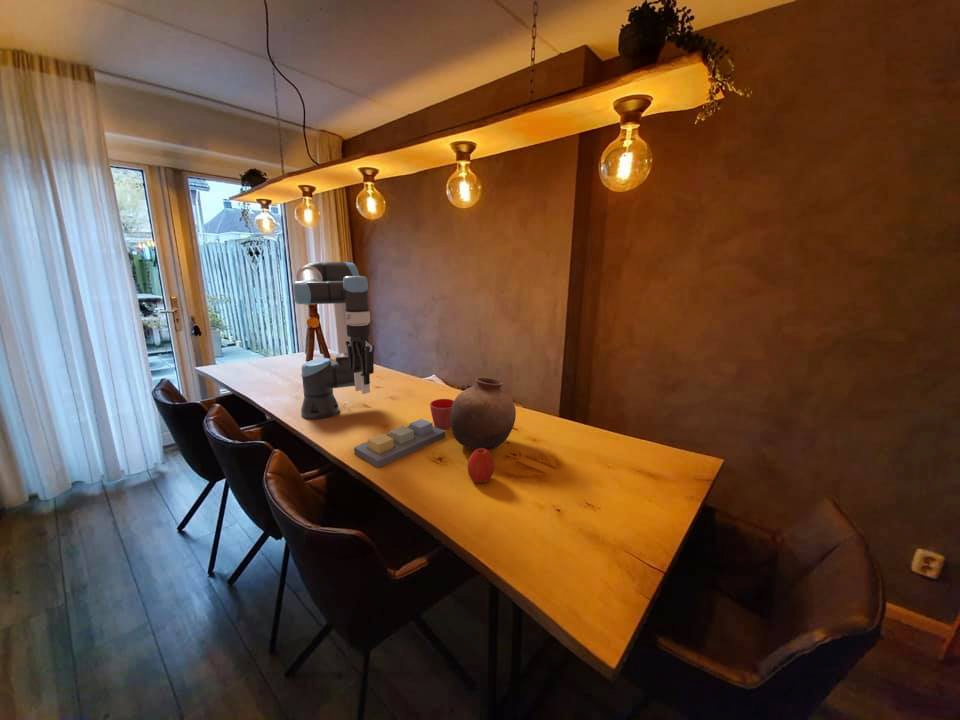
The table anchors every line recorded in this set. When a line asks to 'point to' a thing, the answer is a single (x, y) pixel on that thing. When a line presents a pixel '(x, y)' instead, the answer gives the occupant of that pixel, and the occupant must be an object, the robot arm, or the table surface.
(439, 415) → the flower pot
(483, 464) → the red oval body
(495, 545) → the table surface
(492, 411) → the pottery
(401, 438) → the sage button
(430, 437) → the button board
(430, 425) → the blue button
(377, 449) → the ochre button
